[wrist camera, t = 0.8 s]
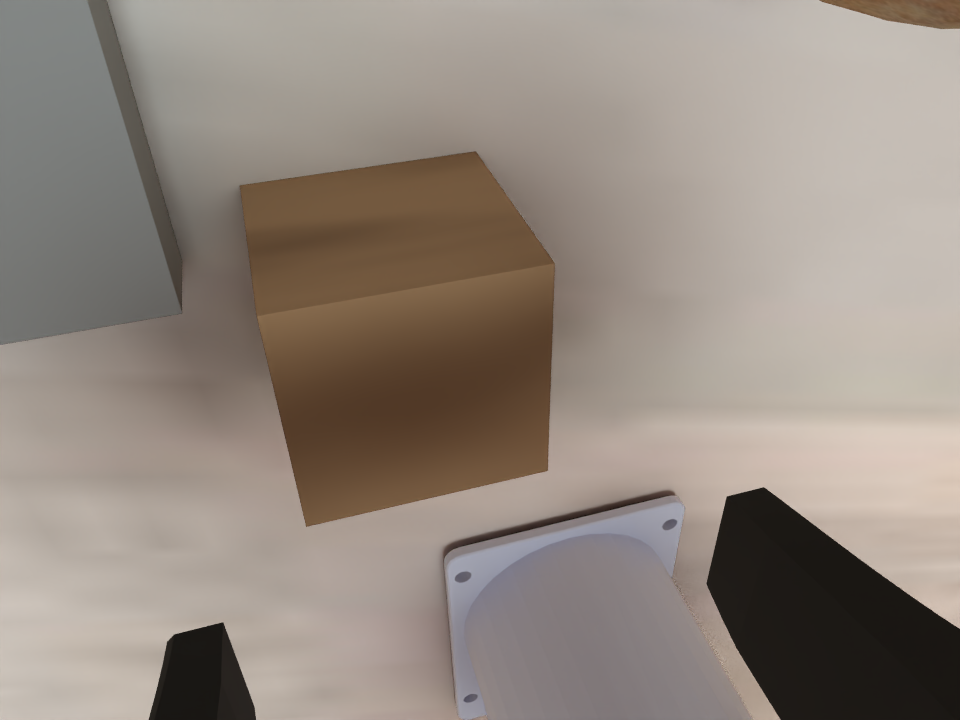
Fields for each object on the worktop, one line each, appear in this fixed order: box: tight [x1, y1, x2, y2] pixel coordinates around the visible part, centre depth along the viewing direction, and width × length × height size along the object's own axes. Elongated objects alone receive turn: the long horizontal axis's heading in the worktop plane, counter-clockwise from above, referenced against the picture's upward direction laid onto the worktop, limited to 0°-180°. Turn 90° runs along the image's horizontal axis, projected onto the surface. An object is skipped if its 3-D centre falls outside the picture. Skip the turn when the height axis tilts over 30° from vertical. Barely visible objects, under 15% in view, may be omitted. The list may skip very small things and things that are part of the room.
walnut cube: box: [240, 152, 555, 527], centre depth 17 cm, size 5×5×5 cm
